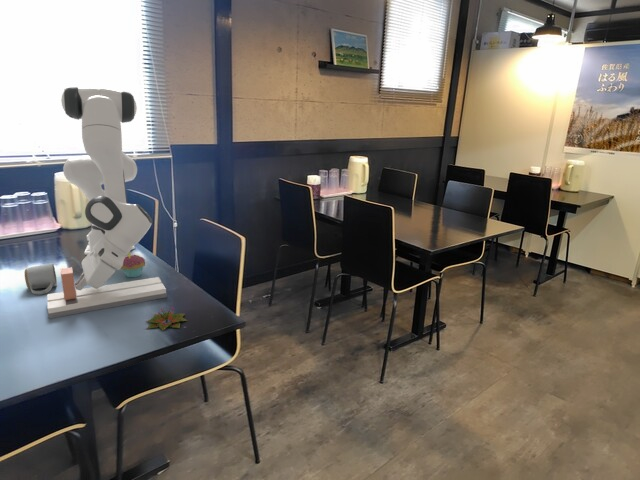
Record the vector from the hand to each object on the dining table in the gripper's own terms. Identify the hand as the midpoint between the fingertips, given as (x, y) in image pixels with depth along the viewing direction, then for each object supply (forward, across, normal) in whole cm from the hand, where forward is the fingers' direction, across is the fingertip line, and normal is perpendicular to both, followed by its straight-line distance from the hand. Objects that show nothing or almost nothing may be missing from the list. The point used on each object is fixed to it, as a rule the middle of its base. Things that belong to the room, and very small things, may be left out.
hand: (77, 287), depth 128 cm
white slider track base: (-2, 0, +10) cm, 10 cm away
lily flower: (-10, +22, +19) cm, 31 cm away
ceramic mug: (+11, -19, -2) cm, 22 cm away
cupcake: (-8, -19, +17) cm, 27 cm away
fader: (+4, 0, +1) cm, 5 cm away
